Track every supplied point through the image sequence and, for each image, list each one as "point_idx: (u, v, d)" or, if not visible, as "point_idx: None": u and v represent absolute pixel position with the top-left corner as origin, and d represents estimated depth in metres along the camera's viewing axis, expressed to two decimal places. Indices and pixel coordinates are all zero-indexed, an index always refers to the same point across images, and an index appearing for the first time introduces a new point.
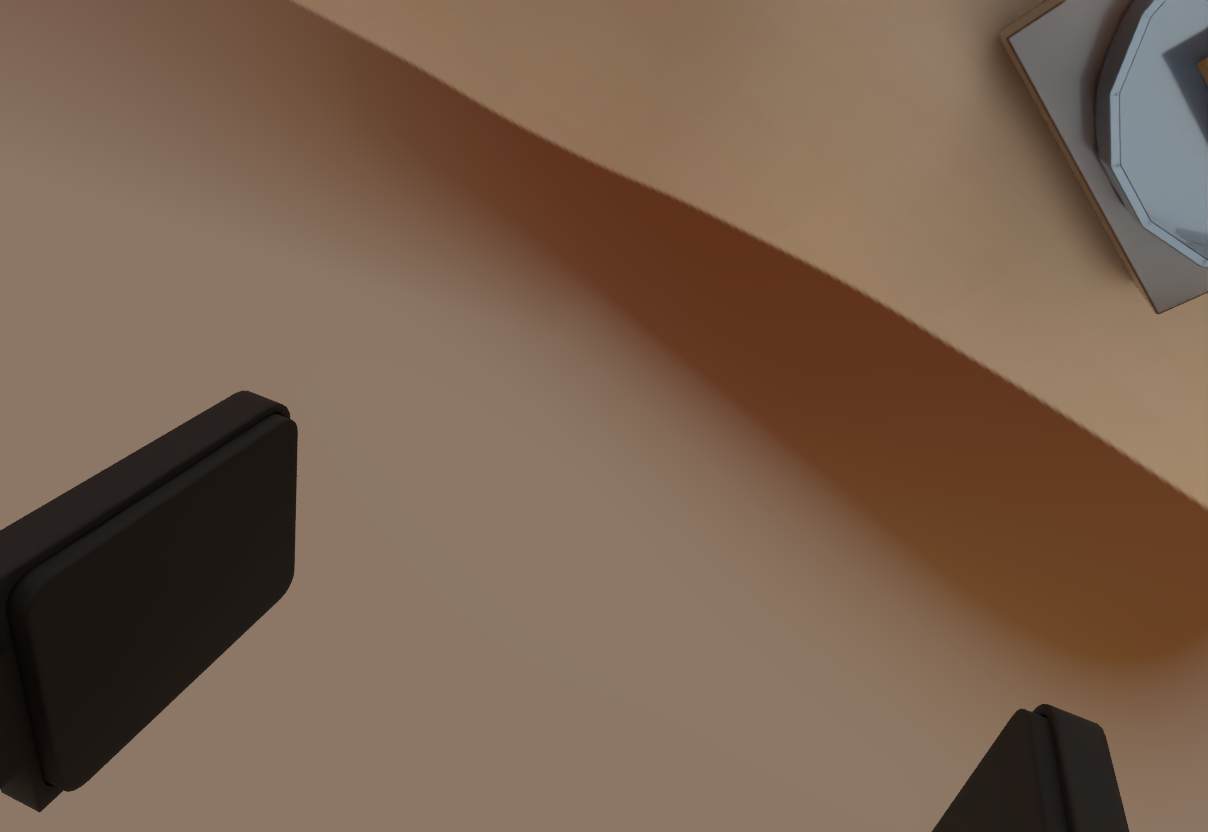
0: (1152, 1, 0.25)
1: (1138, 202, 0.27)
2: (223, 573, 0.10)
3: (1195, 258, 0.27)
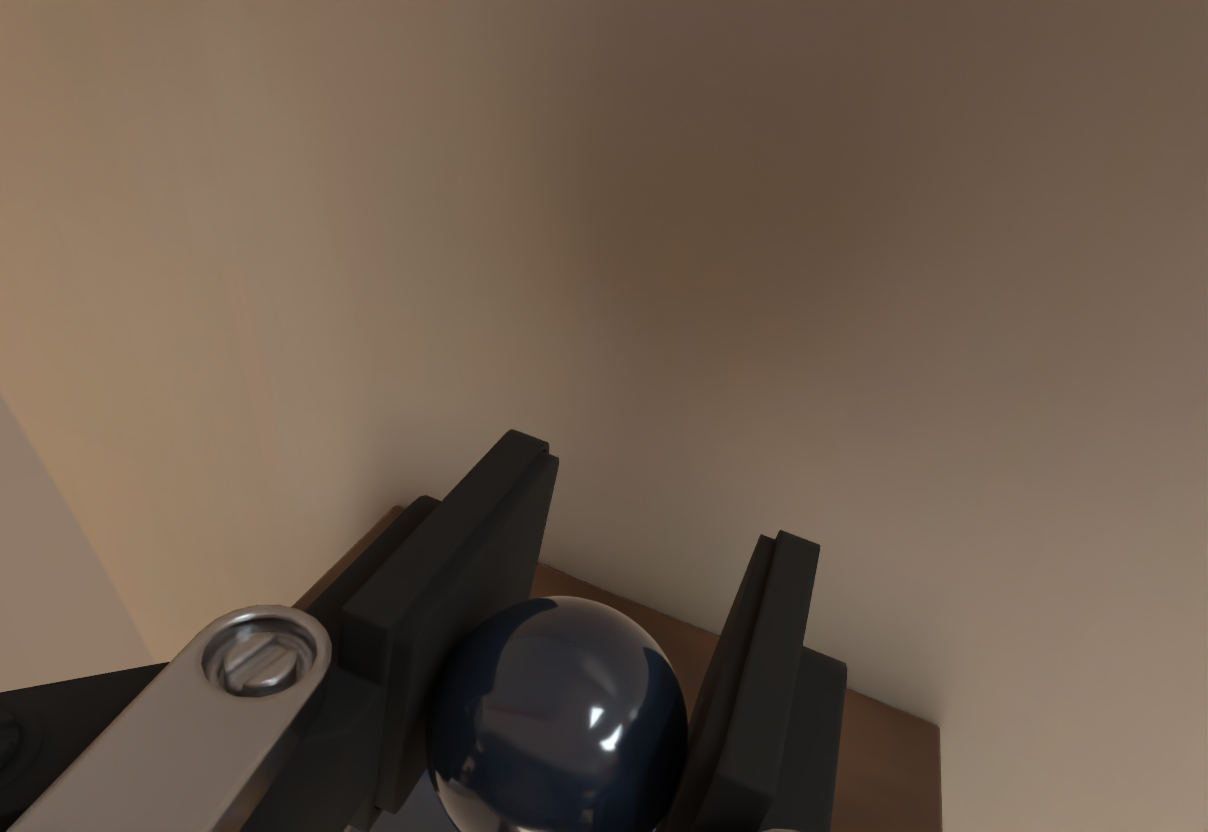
0: None
1: None
2: (499, 604, 0.10)
3: None
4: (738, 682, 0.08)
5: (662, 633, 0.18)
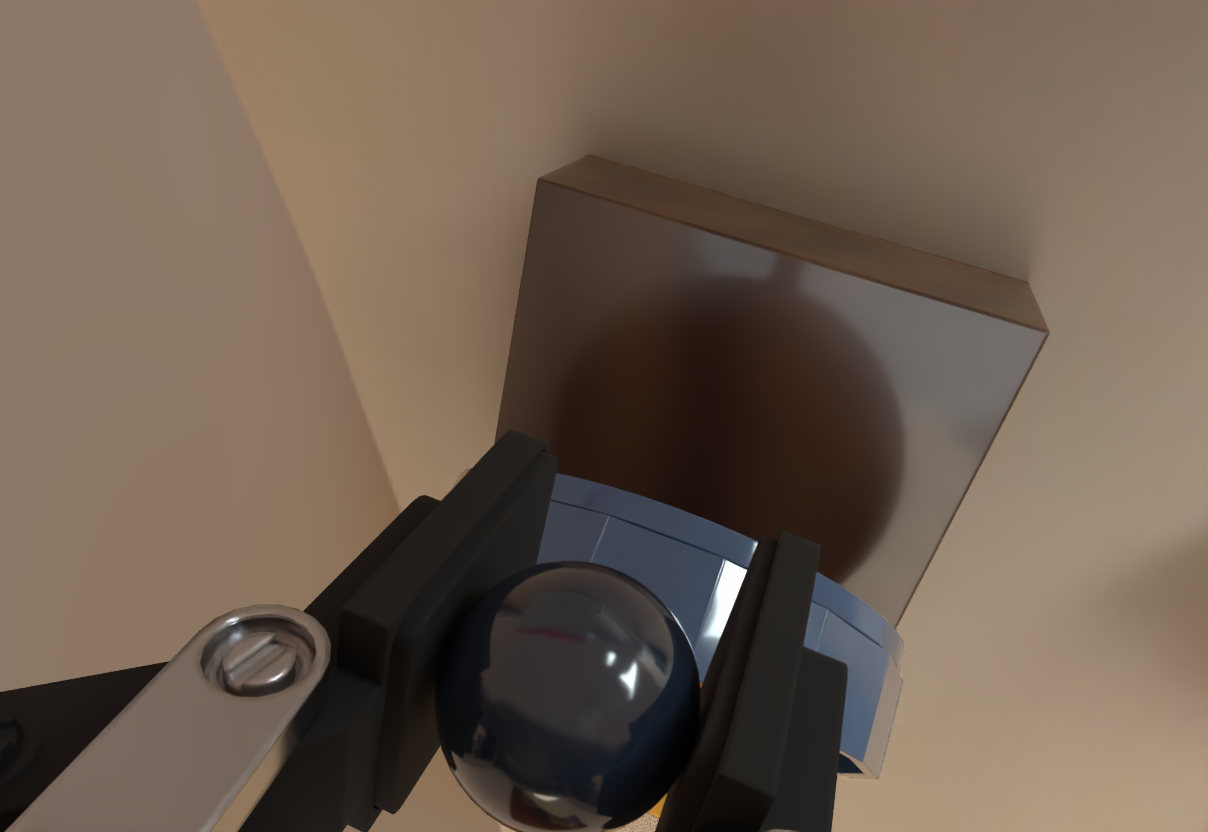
0: None
1: None
2: None
3: None
4: (739, 683, 0.08)
5: (811, 224, 0.23)
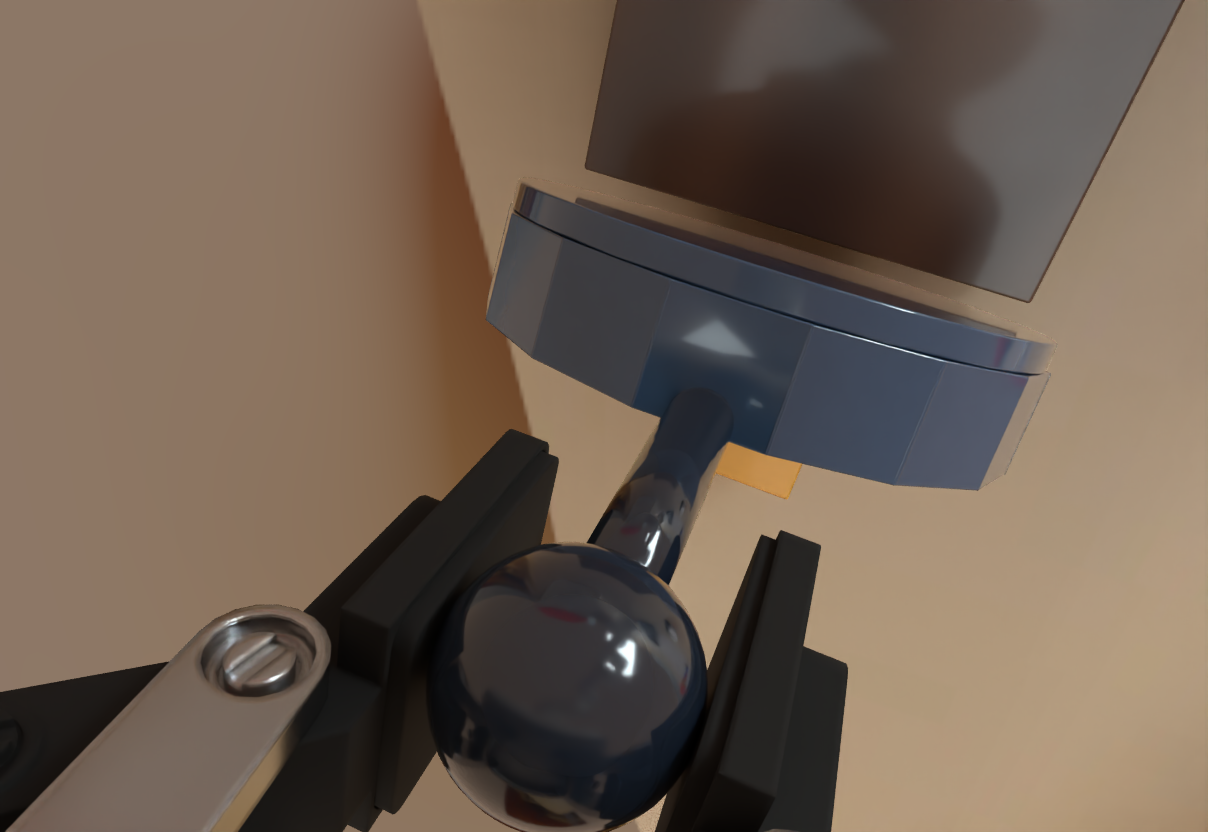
0: (548, 363, 0.15)
1: None
2: None
3: None
4: (739, 682, 0.08)
5: None
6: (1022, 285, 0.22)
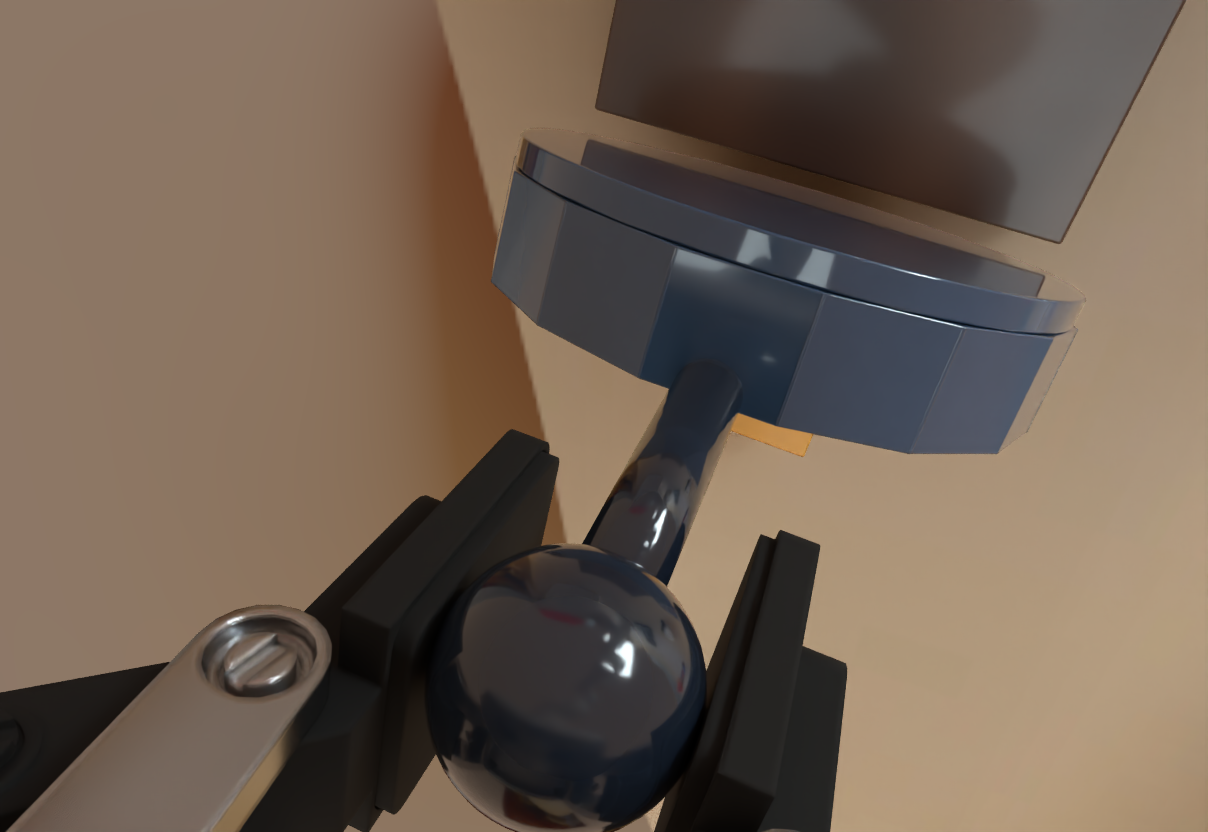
0: (553, 332, 0.14)
1: None
2: None
3: None
4: (738, 682, 0.08)
5: None
6: (1053, 225, 0.21)
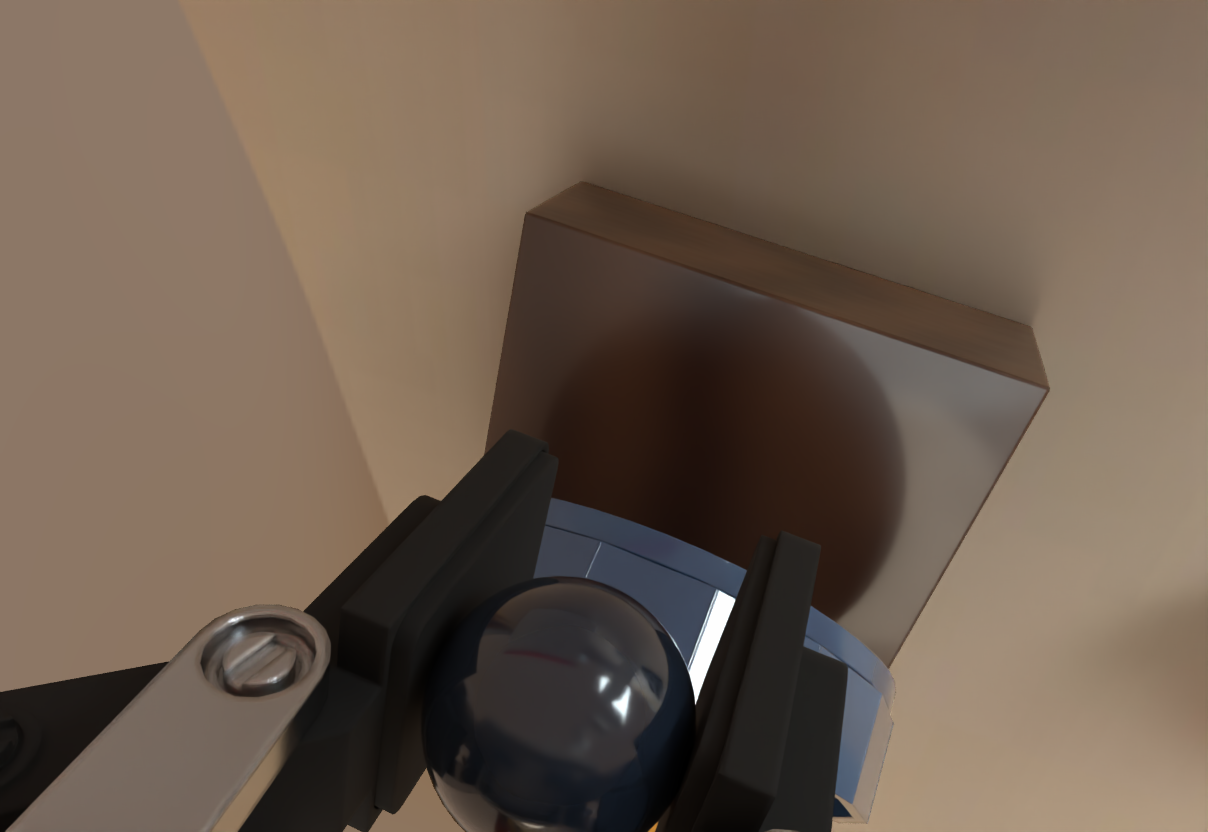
0: None
1: None
2: None
3: None
4: (739, 682, 0.08)
5: (808, 260, 0.22)
6: None
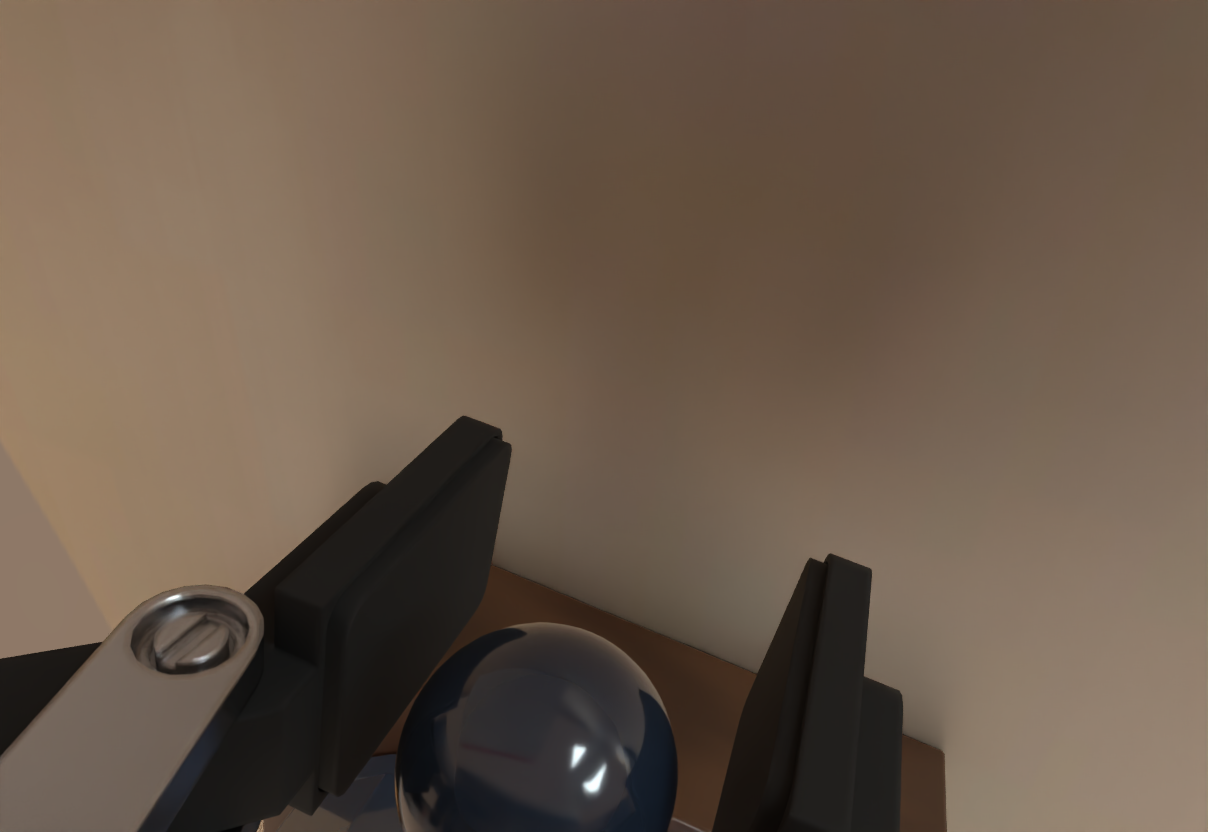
0: None
1: None
2: (450, 589, 0.11)
3: None
4: (802, 716, 0.08)
5: (655, 653, 0.17)
6: None
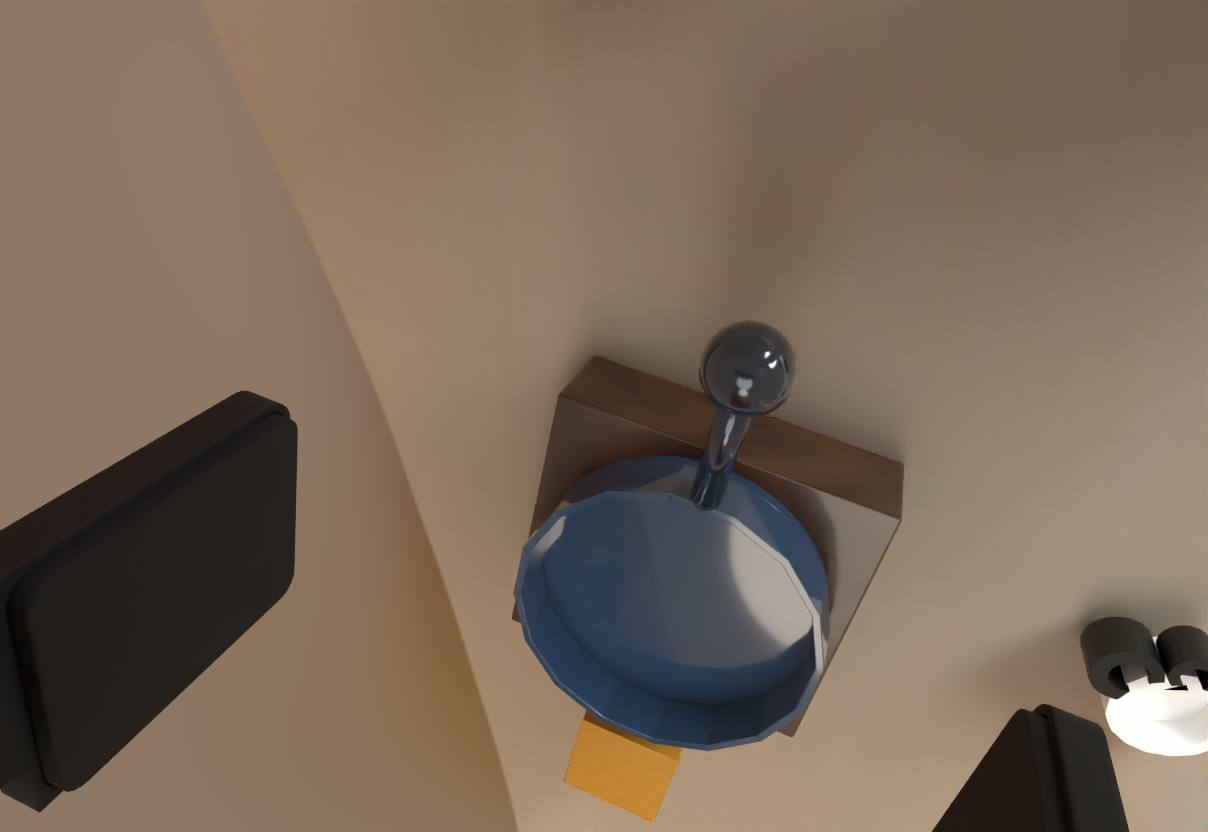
0: (617, 491, 0.29)
1: (521, 579, 0.32)
2: (223, 573, 0.10)
3: (526, 634, 0.33)
4: None
5: None
6: (786, 728, 0.34)
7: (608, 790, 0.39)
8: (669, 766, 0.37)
